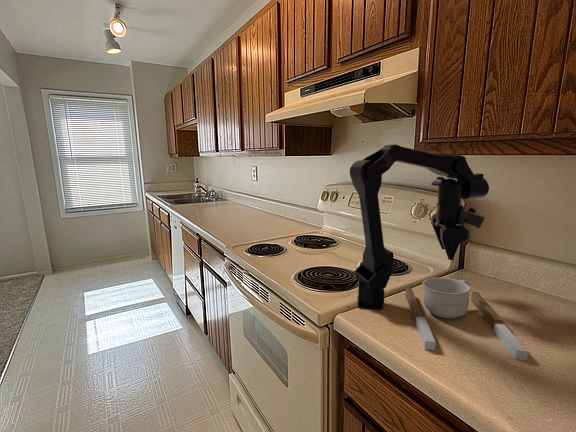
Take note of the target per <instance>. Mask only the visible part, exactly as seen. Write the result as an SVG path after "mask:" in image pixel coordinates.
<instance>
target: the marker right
mask: <svg viewBox="0 0 576 432" xmlns="http://www.w3.org/2000/svg"><path fill="white" fill-rule="evenodd" d="M493 332H494V334H495V335H496V336H497V337H498V339H499V340H500V341H501V342H502V344H503V345H504V347H505V348H506V349H507V350H508V352H509V353H510V354H511V355H512V357H513V358H514V359H515V360H520V361H528V355H529V350H527V348H526V347H525V346H524V345H523V344H522V343H521V342H520V340H519V339H518V338H517V337H516V335H514V333H513V332H512V331H511V330H510V329H509V328H508V326H506V324H503V323H502V324H495V325H494V328H493Z"/></svg>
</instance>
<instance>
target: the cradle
mask: <svg viewBox="0 0 576 432" xmlns="http://www.w3.org/2000/svg"><path fill="white" fill-rule="evenodd" d="M470 295H471V296H470V301H471V302H472V303H473V304H474V306H475V308H477V309H478V311H479V312H480V314H482V316H483V317H484V318H485V320H486V321H487V322H488V323H489V324H490V326H491V327H492V329H494V325H495V324H503V319H502V318H501V316H500V315H498V313H497V312H496V310H495V309H494V308H493V307H492V306H491V305H490V303H488V302H487V300H485V298H484V297H483V296H482V295H481V294H480V293H479V292H478V291H471V294H470ZM404 296H405V298H406V301H407V303H408V307H409V309H410V312H411V315H412V317H413V320H414V322H415V323H416V317H423V312H422V310H421V308H420V305H419V303H418V301H417V298H416V296H415V292H414V291H413V288H412V287H408V286H407V287H405V295H404Z"/></svg>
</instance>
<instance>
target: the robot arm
mask: <svg viewBox="0 0 576 432" xmlns="http://www.w3.org/2000/svg"><path fill="white" fill-rule="evenodd" d="M395 163H400V164H401V163H402V164H405V165H410V166H411V165H412V166H416V167H420V168H424V169H427V170H428V171H430V172H431V173H433V174H435V175H437V177H436V179H434V180H433V181H432V182H431V184H430V185H431V186H434V187H435V186H436V187H438V191H437V202H436V205H435V206H436V208H437V213H434V214H432V215H431V216H430V223H431V226H432V229H433V231H434V233H435V236H436V238H437V241H438V243H439V246H440V248H441V250H444V251H445V254H446V256H447V259H448V260H449V261H453V260H454V259H455V257H456V256H455V255H456V254H457V250H458V248H459V245H460V244H462V243H463V242H466V241H468V240H469V239H470V231H469V229H467V228H466V227H465V226H464V224H467V225H471V226H474V227H475V228H476V229H481V227H482V225H483V224H484V220H485V219H486V217H485V215H484V216H483V215H482V214H479V213H477V212H476V210H477V209H476V208H474V207H473V206H472V207H471V206H467V207H466V208H465V207H464V205H462V200H470V199H479V198H485V197H486V196H487V195H488V194H489V191H490V185H489V183H488V181H487V180H486V178H484V173H478V172H477V173H474V172H473V170H472V169H471V167H470V166H469V164H468V161H467V158H466V156H464V155H462V154H435V153H430V152H427V151H423V150H417V149H414V148H409V147H404V146H401V145H399V144H394V143H393V144H385V145H384V146H383V147H382V148H380V149H379V150H378V151H377V150H376V151H375V152H374V153H373V152H372V154H370V155H368V156H366V157H364V158H363V159H361V160H360V159H359V160H357V161H355V162H353V163H352V165H351V166H350V167H349V175H350V176H349V177H350V179H351V182H352V185H353V187H354V189H355V191H356V193H357V194H358V199H359V204H360V210H361V211H360V212H361V219H362V227H363V235H364V241H365V248H364V250H363V252H362V262H361V263H360V265H358V267H357V268H356V269H355V270H354V271H353V273H354V275H355V278H356V279H358V285H357V287H358V288H357V289H358V290H357V293H358V294H357V307H358V308H361V309H370V310H371V309H372V310H373V309H374V310H383V309H384V308H383V305H384V304H385V293H386V292H385V289H386V288H387V285H388V282H389V281H390V278H391V276H392V275H393V273H394V268H396V265H395V263H394V262H395V261H394V256H395V255H394V253H393V252H392V251H391V250H389V249H387V248H386V247H385V244H384V235H383V227H382V217H381V210H380V201H379V200H380V199H379V192H380V190H381V186H382V183H383V182H382V181H383V175H384V174H385V173H387V172H388V171H389V170H390V169H391V168H392V167H393V165H394V164H395ZM445 177H446V178H445Z"/></svg>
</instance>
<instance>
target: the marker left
mask: <svg viewBox="0 0 576 432" xmlns="http://www.w3.org/2000/svg"><path fill="white" fill-rule="evenodd" d="M415 327H416V329H417V332H418V335H419V337H420V340H421V343H422V346H423V348H424V350H425V351H426V350H428V351H436V343H437V342H436V340H435V337H434V335H433V332H432V330H431V328H430V326H429V324H428V321H427V319H426V317H423V316H422V317H416V322H415Z"/></svg>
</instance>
